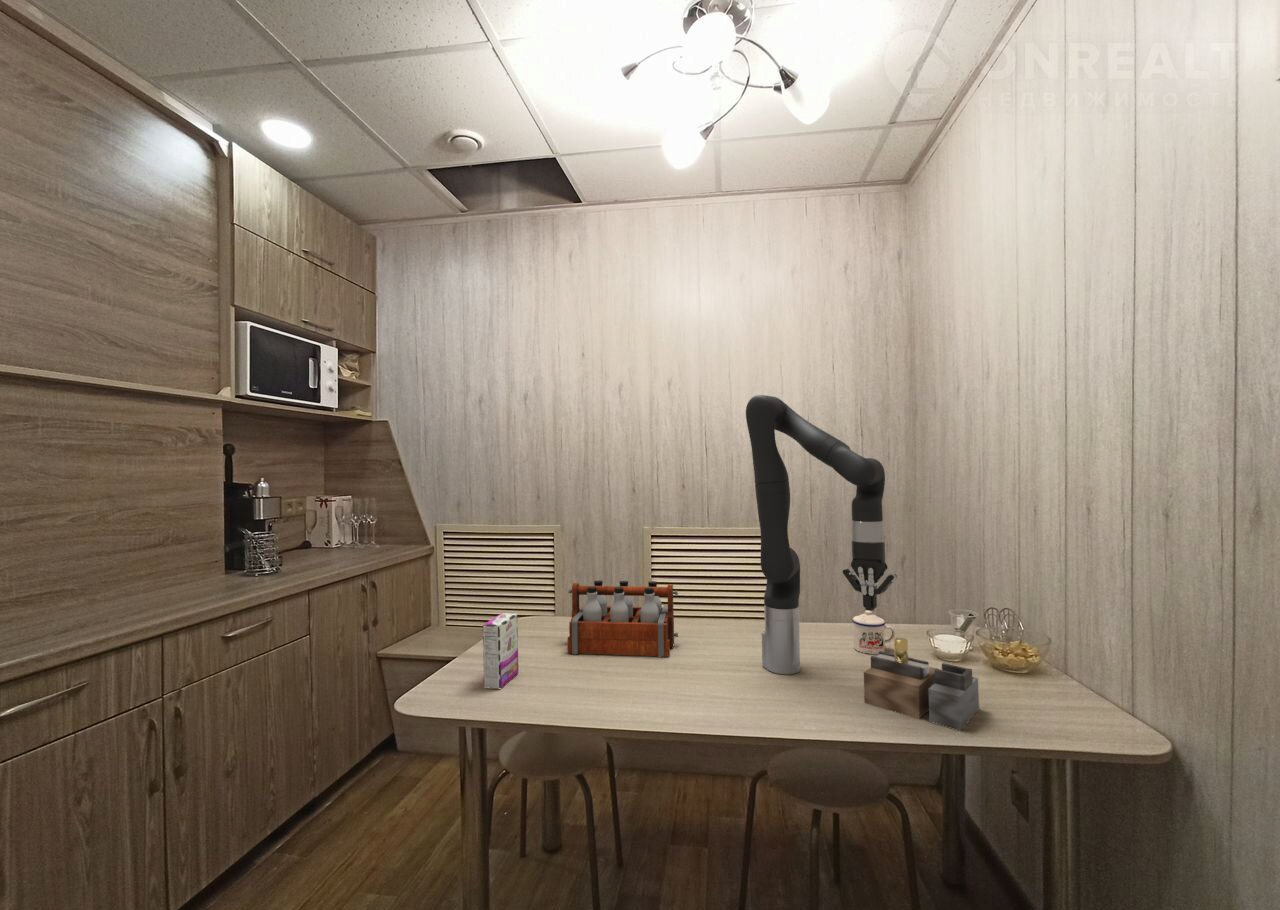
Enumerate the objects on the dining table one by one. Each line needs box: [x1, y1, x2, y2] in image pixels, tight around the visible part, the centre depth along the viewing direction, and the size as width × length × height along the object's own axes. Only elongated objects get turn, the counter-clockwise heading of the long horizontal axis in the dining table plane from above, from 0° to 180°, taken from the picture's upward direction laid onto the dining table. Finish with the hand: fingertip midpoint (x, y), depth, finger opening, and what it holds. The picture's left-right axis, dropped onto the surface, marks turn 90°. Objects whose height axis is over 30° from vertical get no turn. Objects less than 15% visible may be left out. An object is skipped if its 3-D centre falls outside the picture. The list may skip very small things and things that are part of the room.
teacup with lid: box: [851, 610, 896, 655], centre depth 162 cm, size 12×9×12 cm
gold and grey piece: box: [875, 637, 930, 677], centre depth 127 cm, size 11×3×7 cm, turn 45°
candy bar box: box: [482, 612, 519, 689], centre depth 142 cm, size 11×5×16 cm, turn 168°
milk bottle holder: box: [566, 580, 679, 658], centre depth 170 cm, size 21×35×19 cm, turn 82°
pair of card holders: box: [863, 651, 980, 732], centre depth 124 cm, size 20×14×10 cm
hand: (870, 610), depth 132 cm, fingers closed
